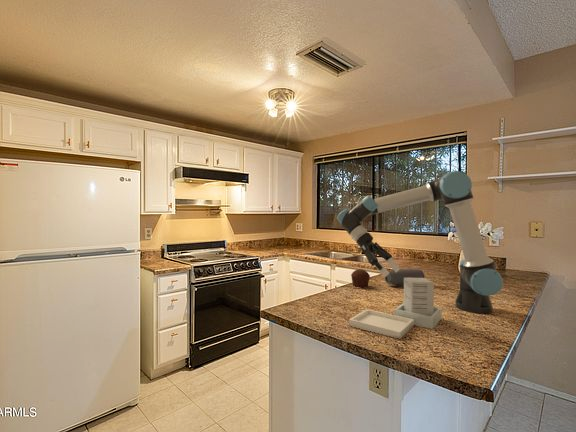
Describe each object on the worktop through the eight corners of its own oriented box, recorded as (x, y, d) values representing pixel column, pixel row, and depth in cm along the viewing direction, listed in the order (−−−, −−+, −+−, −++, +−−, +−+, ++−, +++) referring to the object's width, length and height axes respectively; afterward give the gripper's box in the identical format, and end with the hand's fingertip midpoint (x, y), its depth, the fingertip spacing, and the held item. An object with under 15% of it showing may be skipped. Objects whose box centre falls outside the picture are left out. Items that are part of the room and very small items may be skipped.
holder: (441, 318, 130) (441, 308, 130) (432, 329, 118) (432, 317, 118) (405, 311, 139) (405, 301, 139) (393, 320, 128) (394, 309, 128)
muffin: (370, 289, 179) (370, 272, 179) (351, 288, 181) (351, 271, 181) (369, 284, 191) (369, 268, 191) (350, 283, 193) (351, 267, 193)
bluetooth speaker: (392, 288, 182) (393, 271, 181) (384, 284, 191) (384, 268, 190) (425, 286, 188) (425, 270, 188) (415, 282, 197) (415, 267, 197)
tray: (414, 325, 122) (414, 319, 122) (399, 339, 108) (400, 332, 108) (366, 314, 134) (366, 309, 134) (348, 325, 121) (348, 319, 121)
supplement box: (434, 323, 124) (434, 282, 124) (411, 323, 124) (411, 282, 124) (424, 315, 134) (424, 277, 133) (402, 315, 134) (403, 277, 133)
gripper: (367, 240, 156) (396, 273, 147) (344, 244, 136) (375, 282, 127) (377, 230, 153) (408, 264, 143) (355, 232, 133) (388, 271, 124)
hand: (393, 272), depth 135 cm, fingers open, 13 cm apart
